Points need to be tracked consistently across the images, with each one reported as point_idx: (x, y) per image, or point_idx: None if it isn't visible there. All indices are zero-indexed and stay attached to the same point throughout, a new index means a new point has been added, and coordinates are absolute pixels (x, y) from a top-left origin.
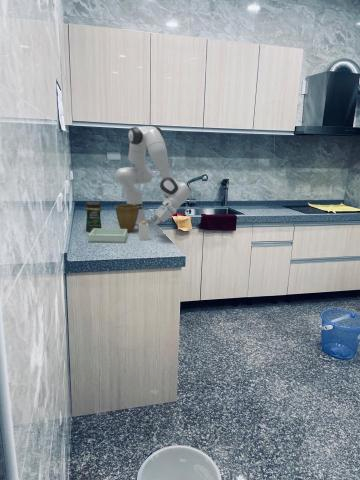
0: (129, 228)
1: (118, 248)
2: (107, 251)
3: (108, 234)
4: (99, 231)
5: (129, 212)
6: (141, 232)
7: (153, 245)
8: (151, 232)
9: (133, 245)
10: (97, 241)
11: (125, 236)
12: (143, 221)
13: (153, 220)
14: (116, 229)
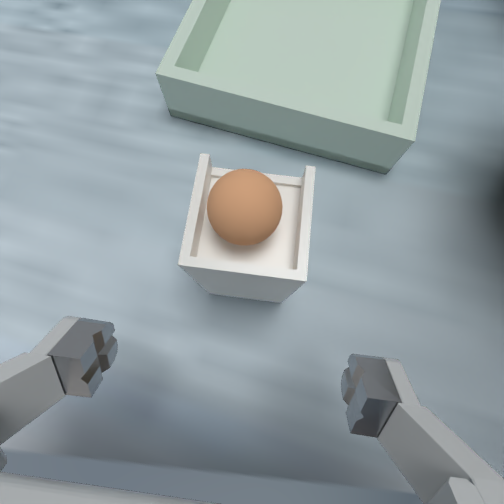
0: None
1: (49, 59)
2: (15, 5)
3: (393, 54)
4: None
5: None
6: None
7: (18, 280)
8: (498, 412)
9: (80, 149)
10: None
11: (219, 106)
12: (224, 187)
13: (351, 408)
14: (413, 66)
